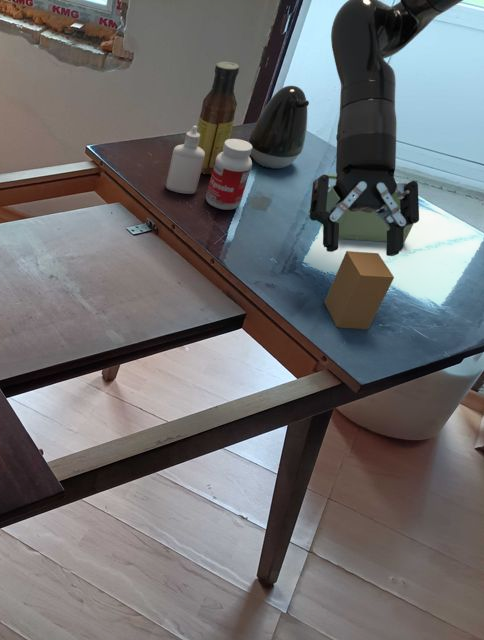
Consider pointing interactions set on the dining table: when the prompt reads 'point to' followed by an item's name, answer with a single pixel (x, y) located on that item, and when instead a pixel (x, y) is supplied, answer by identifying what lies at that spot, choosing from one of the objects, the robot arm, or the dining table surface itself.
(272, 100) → the black bird figurine
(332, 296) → the block
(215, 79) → the sauce bottle
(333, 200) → the open box
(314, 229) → the dining table surface
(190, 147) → the eye dropper bottle
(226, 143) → the pill bottle
